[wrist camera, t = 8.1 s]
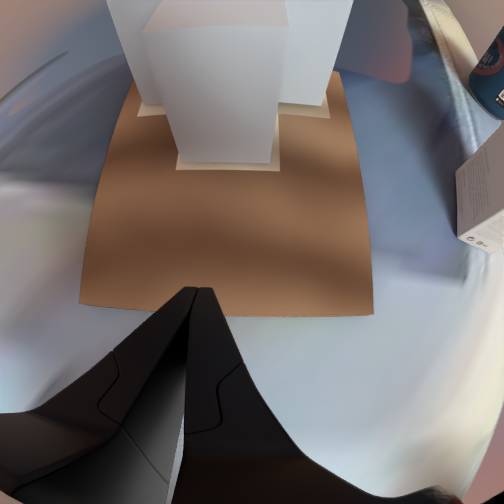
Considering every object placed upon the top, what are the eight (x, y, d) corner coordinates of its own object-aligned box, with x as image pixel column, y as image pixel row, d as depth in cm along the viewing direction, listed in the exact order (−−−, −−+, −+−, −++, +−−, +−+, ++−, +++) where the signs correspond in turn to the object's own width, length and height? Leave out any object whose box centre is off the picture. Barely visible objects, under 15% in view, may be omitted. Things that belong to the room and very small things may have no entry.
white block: (329, 167, 16) (386, 45, 7) (126, 164, 16) (61, 53, 7) (316, 78, 18) (342, -24, 10) (153, 77, 18) (125, -21, 9)
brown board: (366, 315, 15) (374, 314, 14) (87, 305, 15) (78, 303, 14) (335, 80, 20) (339, 71, 19) (140, 78, 20) (137, 70, 19)
